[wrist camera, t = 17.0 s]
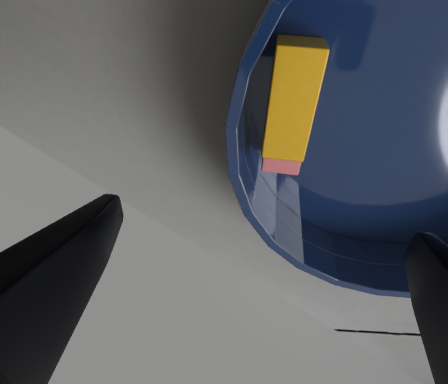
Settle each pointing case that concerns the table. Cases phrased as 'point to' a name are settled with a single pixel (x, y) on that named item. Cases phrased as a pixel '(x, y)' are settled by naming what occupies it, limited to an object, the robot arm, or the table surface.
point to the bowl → (350, 140)
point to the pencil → (292, 101)
